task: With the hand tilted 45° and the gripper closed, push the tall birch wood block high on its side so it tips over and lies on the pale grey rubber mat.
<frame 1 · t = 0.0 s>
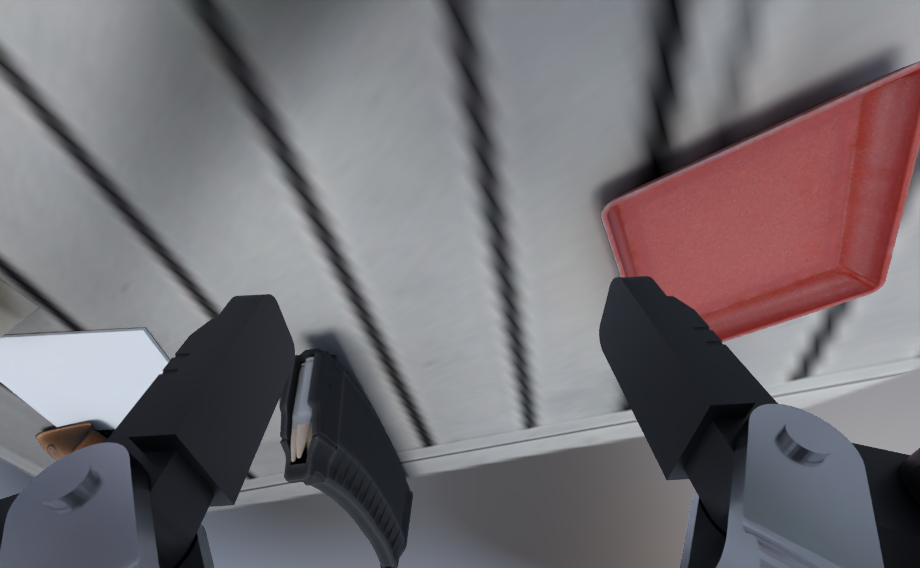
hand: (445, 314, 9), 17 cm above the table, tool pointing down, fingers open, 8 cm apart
sunglasses case: (133, 462, 44), on the table, touching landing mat
plant saucer: (726, 229, 29), on the table
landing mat: (100, 384, 36), on the table
magazine: (368, 422, 42), on the table
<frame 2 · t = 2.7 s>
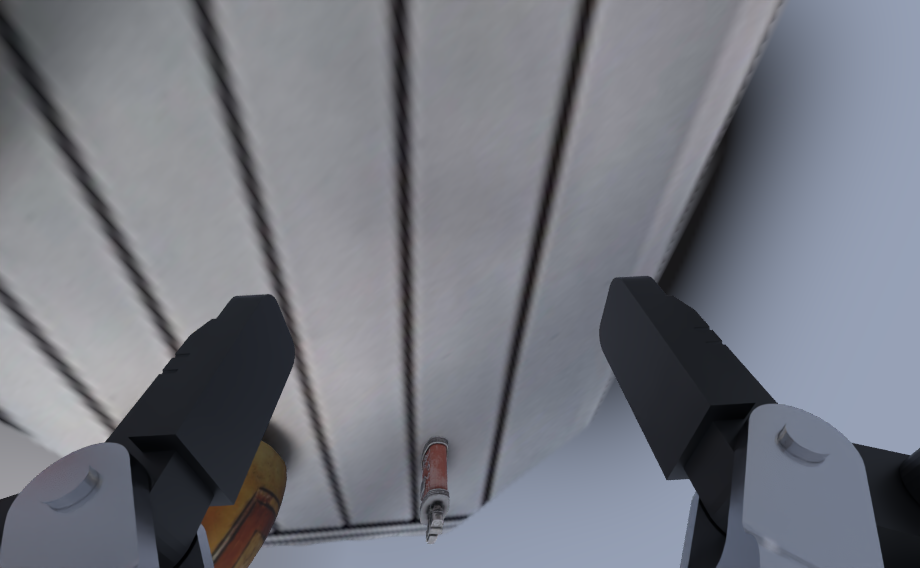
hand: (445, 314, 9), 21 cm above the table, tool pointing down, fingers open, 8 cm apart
ceramic pitcher: (217, 442, 48), on the table
lighter: (434, 451, 51), on the table
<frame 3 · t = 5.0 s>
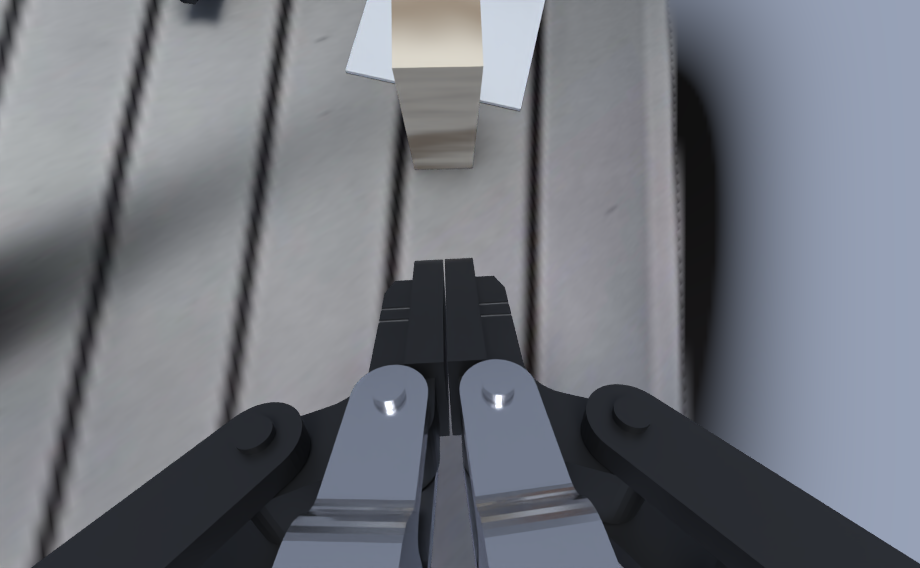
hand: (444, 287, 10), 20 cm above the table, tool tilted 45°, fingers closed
birch block: (442, 142, 32), on the table
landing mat: (450, 25, 34), on the table
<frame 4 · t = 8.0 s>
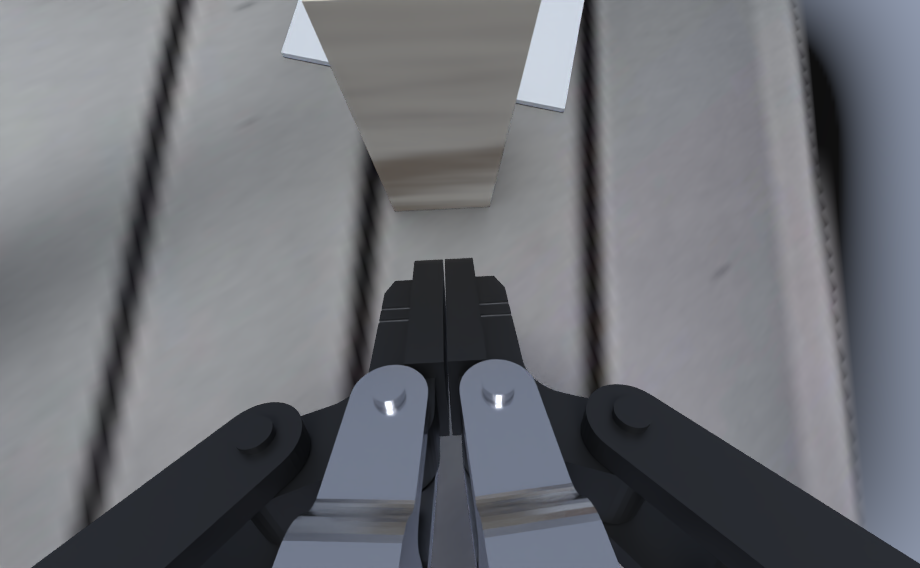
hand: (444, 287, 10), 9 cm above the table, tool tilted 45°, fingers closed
birch block: (440, 165, 20), on the table
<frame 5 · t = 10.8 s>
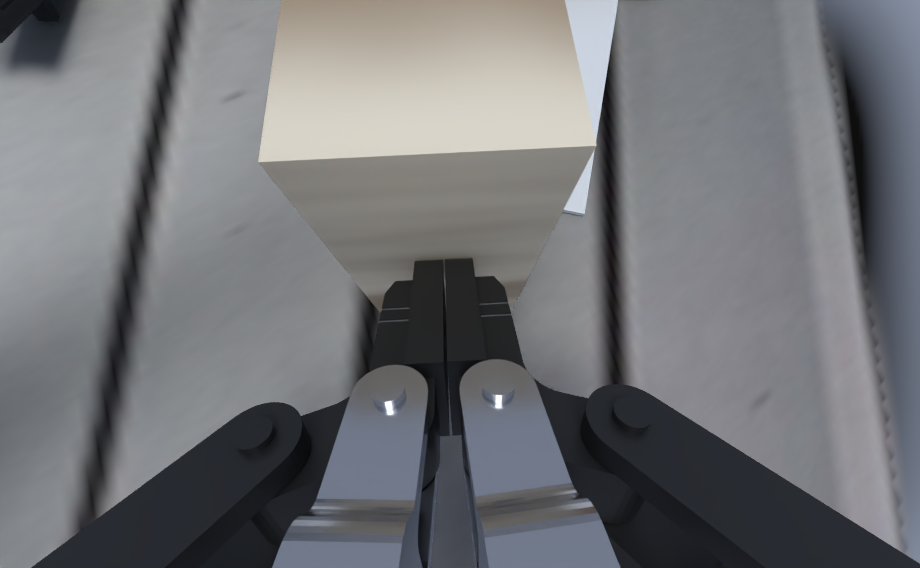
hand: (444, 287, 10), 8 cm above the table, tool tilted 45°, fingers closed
birch block: (447, 276, 18), on the table, tilted 9°, touching gripper
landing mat: (455, 65, 20), on the table
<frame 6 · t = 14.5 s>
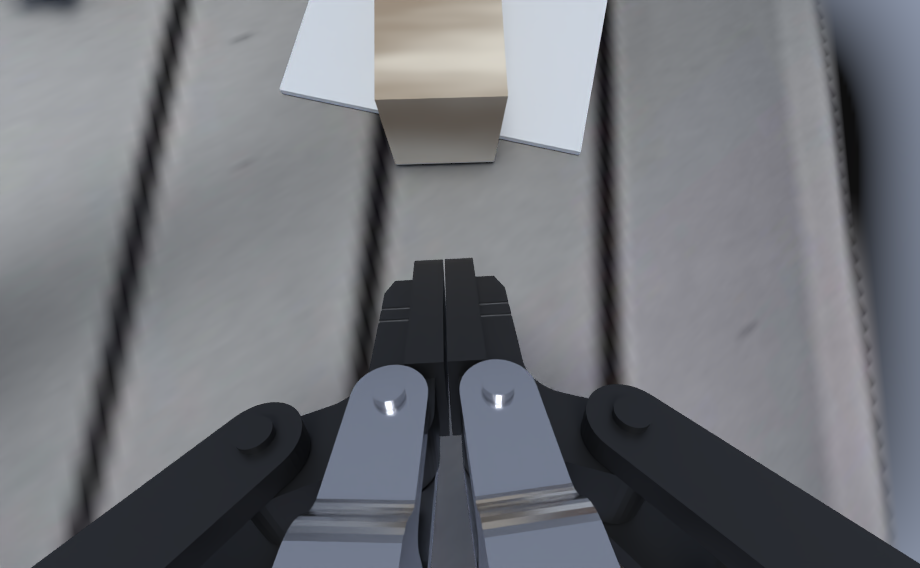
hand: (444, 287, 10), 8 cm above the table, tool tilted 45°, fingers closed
birch block: (443, 135, 16), point 3 cm above the table, tilted 90°, touching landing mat
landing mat: (457, 11, 21), on the table
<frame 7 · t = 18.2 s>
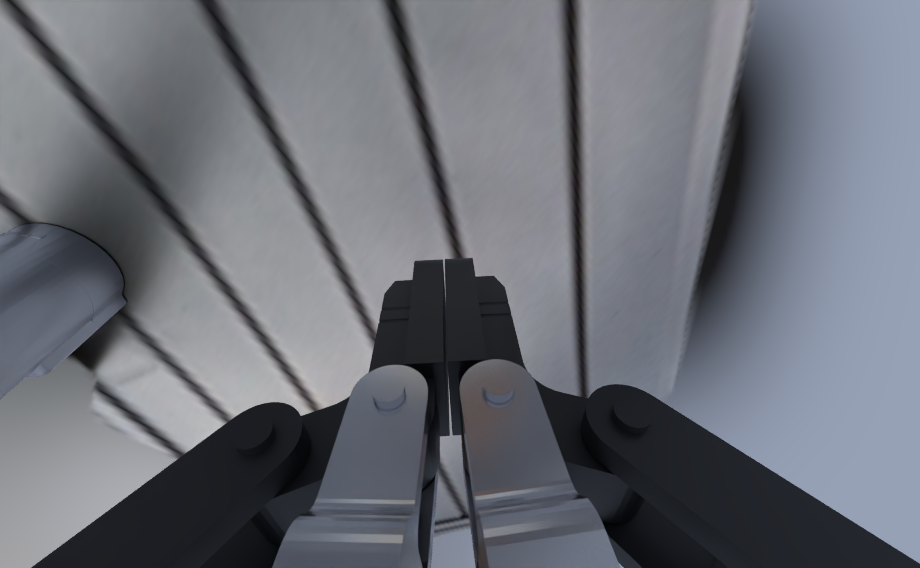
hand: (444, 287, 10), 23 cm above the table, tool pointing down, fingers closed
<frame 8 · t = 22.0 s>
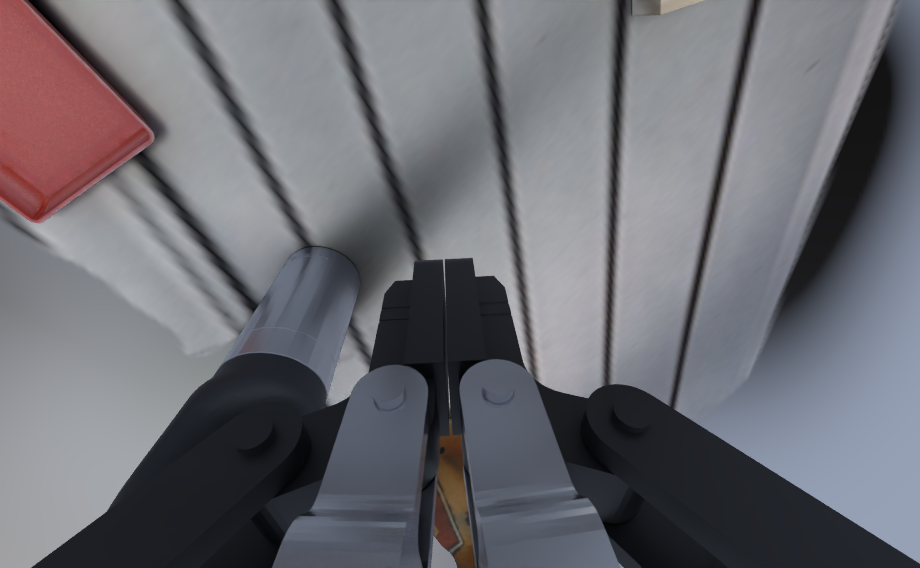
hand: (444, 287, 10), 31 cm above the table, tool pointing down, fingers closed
ceramic pitcher: (469, 433, 68), on the table
birch block: (677, 4, 30), point 3 cm above the table, tilted 90°, touching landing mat
plant saucer: (24, 88, 34), on the table
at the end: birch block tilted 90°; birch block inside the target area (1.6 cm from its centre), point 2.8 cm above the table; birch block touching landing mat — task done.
